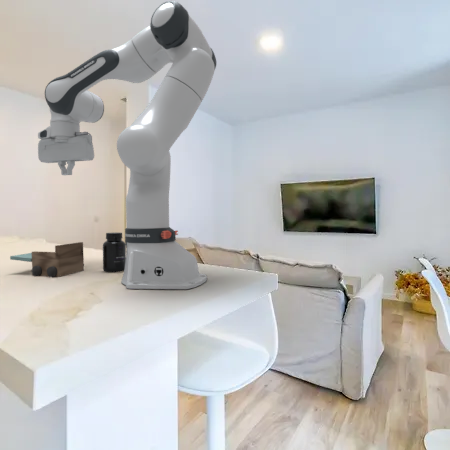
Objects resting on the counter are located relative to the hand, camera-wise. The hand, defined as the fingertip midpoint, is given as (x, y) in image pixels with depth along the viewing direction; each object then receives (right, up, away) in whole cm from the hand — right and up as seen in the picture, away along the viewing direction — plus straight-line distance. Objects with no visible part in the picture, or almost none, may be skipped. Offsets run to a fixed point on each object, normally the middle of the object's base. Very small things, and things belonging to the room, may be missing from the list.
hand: (66, 175), depth 105 cm
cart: (+2, -32, -10) cm, 33 cm away
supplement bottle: (+19, -32, -7) cm, 37 cm away
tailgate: (-3, -27, -8) cm, 28 cm away
